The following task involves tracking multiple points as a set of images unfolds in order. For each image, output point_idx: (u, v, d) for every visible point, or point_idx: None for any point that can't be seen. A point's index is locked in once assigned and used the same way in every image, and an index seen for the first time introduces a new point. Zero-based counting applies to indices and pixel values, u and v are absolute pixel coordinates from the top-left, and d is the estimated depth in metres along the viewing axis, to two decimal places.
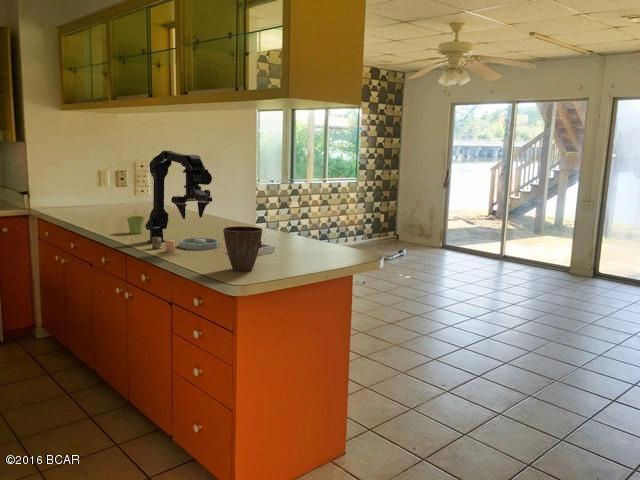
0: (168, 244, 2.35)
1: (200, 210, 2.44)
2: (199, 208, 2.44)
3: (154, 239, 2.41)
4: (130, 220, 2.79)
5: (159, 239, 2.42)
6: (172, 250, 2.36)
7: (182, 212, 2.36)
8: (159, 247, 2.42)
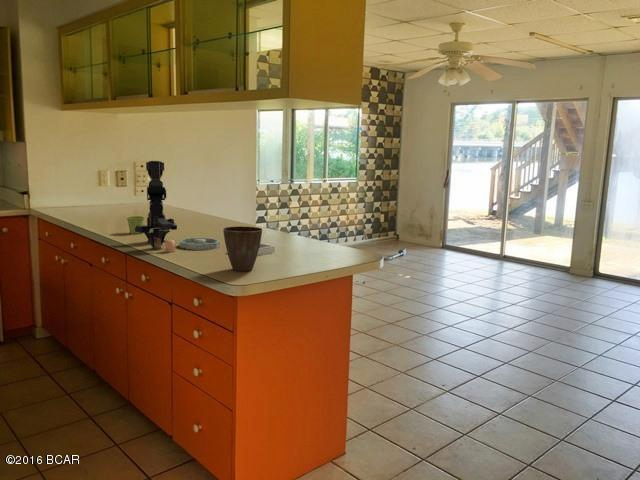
0: (168, 244, 2.35)
1: None
2: (159, 236, 2.45)
3: (154, 239, 2.41)
4: (130, 220, 2.79)
5: (159, 239, 2.42)
6: (172, 250, 2.36)
7: (151, 240, 2.40)
8: (159, 247, 2.42)
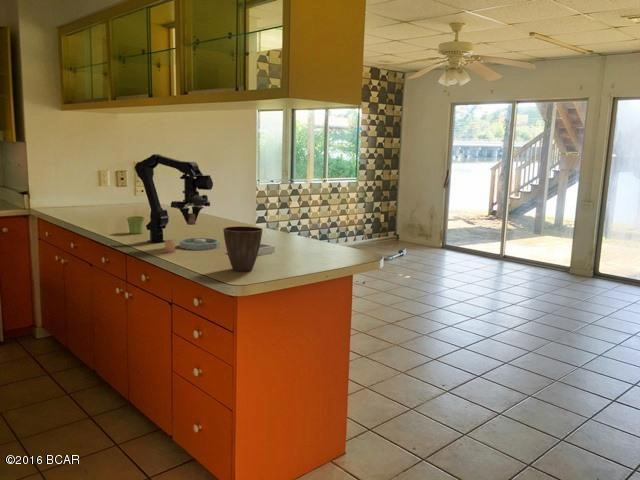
0: (168, 244, 2.35)
1: None
2: None
3: (189, 215, 2.51)
4: (130, 220, 2.79)
5: (193, 215, 2.52)
6: (172, 250, 2.36)
7: (185, 216, 2.50)
8: (193, 223, 2.52)
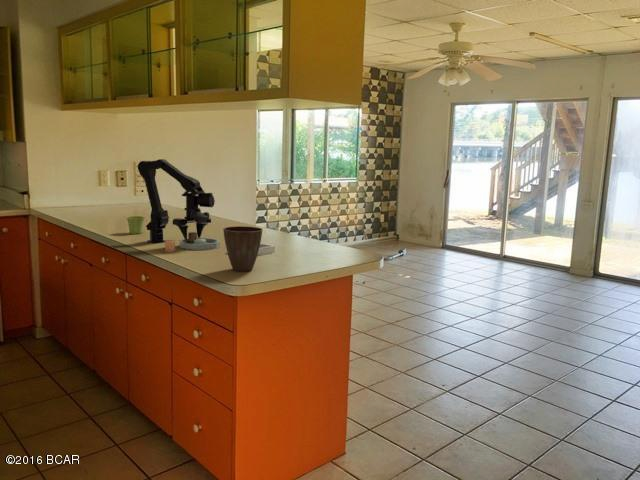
0: (168, 244, 2.35)
1: (198, 231, 2.58)
2: (197, 229, 2.58)
3: (190, 234, 2.53)
4: (130, 220, 2.79)
5: (195, 234, 2.54)
6: (172, 250, 2.36)
7: (184, 233, 2.51)
8: None
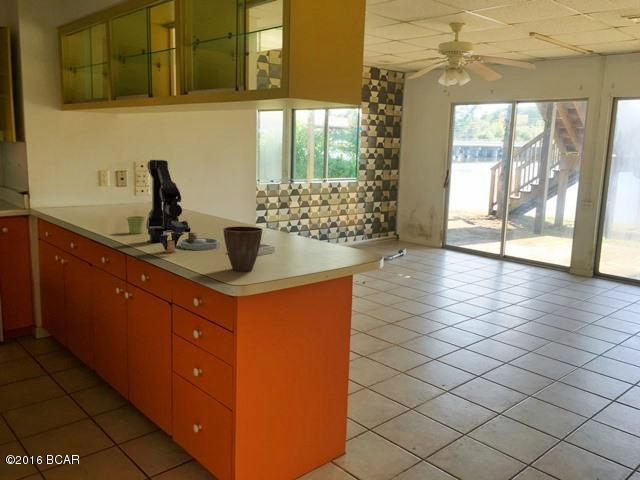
0: (168, 244, 2.35)
1: None
2: (173, 239, 2.39)
3: (190, 234, 2.53)
4: (130, 220, 2.79)
5: (195, 234, 2.54)
6: (172, 250, 2.36)
7: (164, 243, 2.34)
8: None
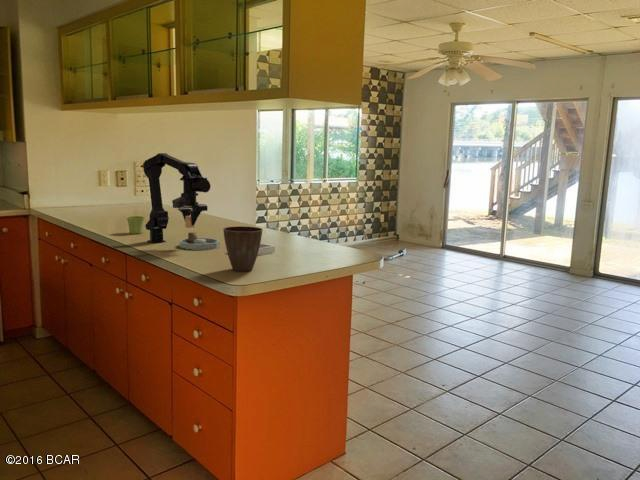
0: None
1: None
2: None
3: (190, 234, 2.53)
4: (130, 220, 2.79)
5: (195, 234, 2.54)
6: (186, 225, 2.45)
7: None
8: None
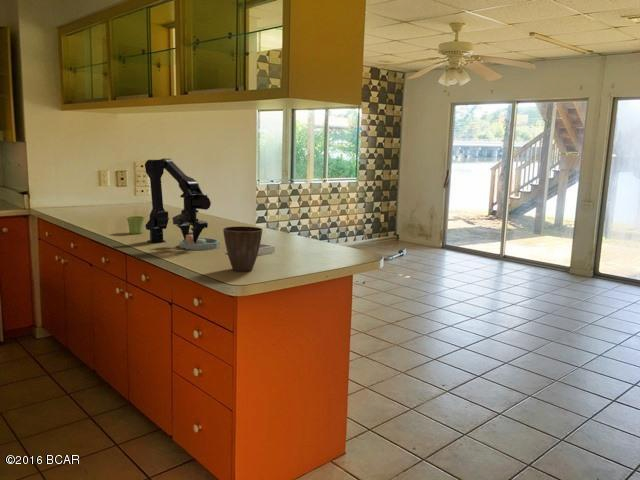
0: None
1: None
2: None
3: (190, 234, 2.53)
4: (130, 220, 2.79)
5: None
6: None
7: None
8: None
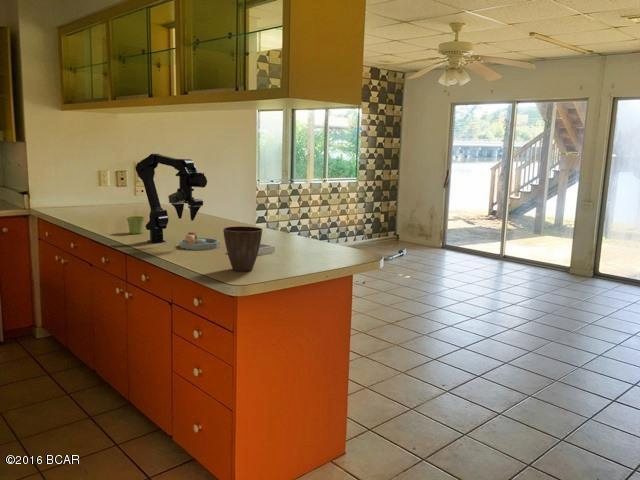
0: None
1: None
2: None
3: (190, 234, 2.53)
4: (130, 220, 2.79)
5: (195, 234, 2.54)
6: None
7: None
8: None
